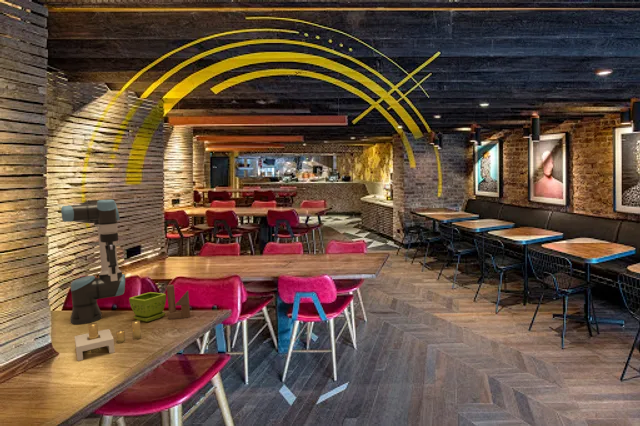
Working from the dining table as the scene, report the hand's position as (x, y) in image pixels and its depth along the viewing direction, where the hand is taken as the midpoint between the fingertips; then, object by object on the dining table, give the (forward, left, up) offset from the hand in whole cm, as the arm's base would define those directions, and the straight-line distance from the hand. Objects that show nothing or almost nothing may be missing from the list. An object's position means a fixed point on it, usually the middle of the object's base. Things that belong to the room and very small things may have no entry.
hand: (112, 277), depth 197 cm
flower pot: (-22, +18, -29) cm, 41 cm away
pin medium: (+6, +7, -29) cm, 31 cm away
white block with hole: (+10, -11, -29) cm, 32 cm away
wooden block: (-12, +31, -29) cm, 45 cm away
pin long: (+10, -11, -29) cm, 32 cm away
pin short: (+6, 0, -29) cm, 30 cm away
